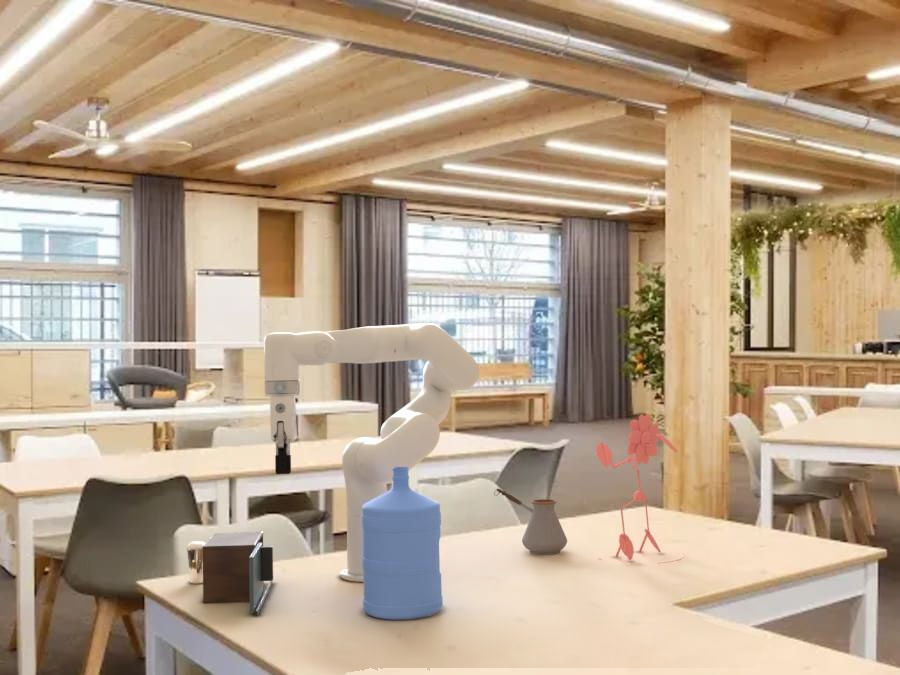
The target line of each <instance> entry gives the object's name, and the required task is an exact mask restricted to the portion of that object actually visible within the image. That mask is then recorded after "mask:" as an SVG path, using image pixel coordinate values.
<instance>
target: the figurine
mask: <svg viewBox="0 0 900 675" xmlns="http://www.w3.org/2000/svg"><path fill="white" fill-rule="evenodd" d="M629 427H630V430H631V432H630V434H629V435H628V442H629V443H628V445H627V449H626V450H627V454H628V455H629V457H628V458H627V459H625V460H623V461H621V462H618V463H617V464H614V463H613V453H612V449H610V447H609V446H608V445H607V444H604V443H603V442H602V441H600V442H599V443H598V444H597V445H596V449H595V456H596V458H597V460H598V461H599V462H600V463H601V464H602V465H603V466H605V467H606V468H609V466H611V467H612V469H615V468H618V467H619V466H622V465H624V464H625V463H627V462H629V463H630V464H631V465H632V467H633V468H634V469H635V471H636V475H637V482H638V488H639V490H636V491H635V492H634V493H633V500H632V501H630V502H628V503H626V504H625V505H624V506H622V507H620V516H621V523H622V525H621V526H622V533H621V534H619V536H618V543H619V546H618V548H617V551H616V554H615V556H614V557H615V558H618V557H619V554H620V552H622V553H623V554H624V556H625V557H626V558H627V559H628V560H629V561H632V559H633V556H634V553H635V551H634V550H635V549H634V544H633V542H632V540H631V539H630V537H629V535H627V534H626V531H625V522H624V514H623V510H624V509H625V508H626V507H628V506H629V505H631V504H632V503H634V502H639V503H641V502H643V503H644V507H645V518H646V527H647V528H644V532H645V535H644V537H643V540H642V543H641V544H640V547H639V550H638V553H642V551H643V548H644V547H645V546H644V545H645V543H646V541H647V539H648V540H649V541H650V543H651V544H652V546H653V547H654V548H655V549H656V550H657V551H658V552H659V553H661V549H660V547H659V545H658V543H657V541H656V539H655V538H654V536H653V535H652V534H651V532H650V527H649V515H648V514H649V513H648V504H647V501H646V494H645V493H644V491H642V485H641V476H640V475H641V474H640V470H639V469H638V467H637V466H636V464H637V465H640V464H641V463H643V464H644V465H647V464H648V463H649V460H650V459H649V458H650V457H656V456H657V455H658V449H657V447H656V445H657V443H658V441H659V439H660V440H661V441H662V442H663V443H664V444H665V445H666V446H667V447H669V448H670V449H671V450H672V451H674V452H676V453H677V452H678V450H677V448H676V447H675V446H674V445H673V443H672V442H670V441H669V439H668V438H666V437H665V435H664V434H662V433H661V432H659V424H658V423H657V422H655V423H652V417H651V414H650V413H646V414H645V415H644V414H640V415H639V416H638V420H637V419H631V420H630V421H629ZM633 457H635V458H633ZM634 461H635V463H636V464H635V463H634ZM681 553H682V554H684V555H683V557H681V558H679V559H676V560H672V561H670V563H672V562H680V561H681V560H683V559H684V558H685V553H684V552H681ZM686 558H687V555H686ZM599 560H600V561H603V559H602V558H599ZM668 563H669V561H664V562H662V564H668ZM657 564H658V565H659V564H660V562H657Z"/></svg>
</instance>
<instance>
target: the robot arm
mask: <svg viewBox="0 0 900 675" xmlns="http://www.w3.org/2000/svg"><path fill="white" fill-rule="evenodd" d="M416 360H427V361H426V362H425V364H424V367H423V370H422V385H421V389H420V391H419V394H418V395H417V396H416V397H414V398H413V399H412V400H411V401H410V402H408V403H407V404H405V406H403V407H402V408H400V409H399V410H398V411H396V412H394V413H393V414H392V415H390V416H389V417H388V418H387V419H385V421H384V422H383V423H382V425H381V428H380V434H379V435H380V438H378V437H369V436H368V437H367V436H365V437H357V438H355V439H352V440H351V441H350V442H349V443H348V444H347V445H346V446H345V448H344V450H343V452H342V458H341V464H342V465H341V466H342V471H343V472H342V473H343V477H344V485H345V494H346V495H345V496H346V497H345V498H346V547H347V548H346V558H347V559H346V560H347V564H346V566H347V568H344V569H342V570H341V571H340V578H342V579H343V580H345V581H350V582H361V583H363V566H362V557H363V527H362V507H363V505H364V504H365V503H367V502H369V501H371V500H373V499H374V498H376V497H378V496H380V495H382V494H384V493H386V492H388V487H387V484H388V483H393V470H392V468H395V467H408V468H409V469H408V472H409V471H410V470H412V469H413V468H414V467H416V466H417V465H418V464H419V463H420V462H422V461H423V460H424V459H426V458H427V457H428V456H429V455H430V454H431V453H432V452H433V451H434V450H435V448H436V447H437V445H438V443H439V440H440V434H441V431H440V426H439V425H440V424H442V422H443V421H445V419H446V417H447V416H448V414H449V412H450V409H451V400H452V391H467V390H469V389H471V388H472V387H474V386H475V385H476V384H477V382H478V380H479V377H480V369H479V365H478V362H477V360H476V359H475V358H474V357H473V356H472V354H470V353H469V352H468V351H467V350H466V349H465V348H464V347H463V346H462V345H461V344H460V343H459V342H458V341H457V340H456V339H454V337H452V335H451V334H449V333H448V332H447V331H446V330H445V329H443V327H440V326H439V325H438V324H436V323H432V322H430V323H429V322H425V323H411V324H410V323H409V324H392V325H370V326H369V325H368V326H360V327H353V328H348V329H341V330H340V329H339V330H330V331H329V330H328V331H327V330H326V331H303V332H298V333H294V332H270V333H267V334H265V336H264V338H263V362H264V363H263V365H264V366H263V367H264V397H269V399H270V400H269V410H270V411H269V415H270V416H269V417H270V418H269V419H270V422H269V423H270V438H271V441H272V442H273V443H275V455H274V460H275V462H274V463H275V464H274V465H275V466H274V467H275V468H274V469H275V470H274V471H275V474H276V475H290V474H291V473H292V455H291V442H294V441H295V440H297V438H298V428H297V426H298V425H297V404H296V397H298V396H300V392H301V390H300V389H301V388H300V386H301V385H300V366H303V367H304V366H323V365H326V364H358V365H359V364H360V365H362V364H379V363H389V362H404V361H405V362H406V361H416ZM386 483H387V484H386Z"/></svg>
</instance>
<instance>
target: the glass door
mask: <svg viewBox="0 0 900 675" xmlns="http://www.w3.org/2000/svg"><path fill="white" fill-rule="evenodd" d="M263 581H264V582H270V581H272V582H273V581H274V547H273V545H263V546H262V543H258V544H257V546H256V548H255V549H254V551H253V552H252V554H251V555H250V557H249V587H250V601H249V613H250V614H254V613H255V611H256V609H257V607H258V605H259V603H260V600H261V598H262V596H263V594H264V584H263Z"/></svg>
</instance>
